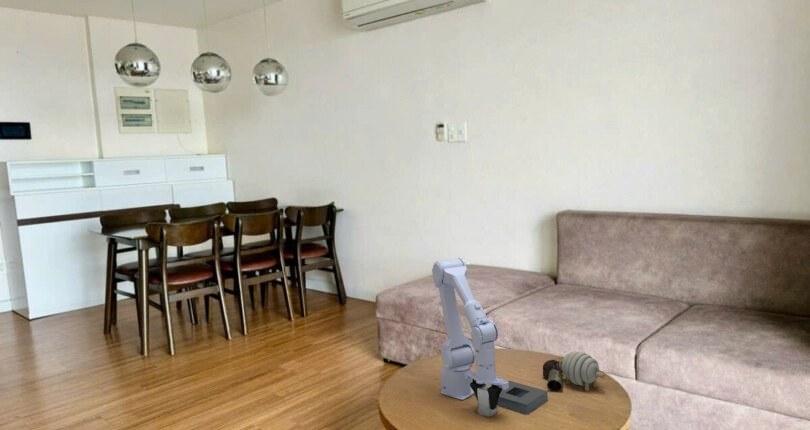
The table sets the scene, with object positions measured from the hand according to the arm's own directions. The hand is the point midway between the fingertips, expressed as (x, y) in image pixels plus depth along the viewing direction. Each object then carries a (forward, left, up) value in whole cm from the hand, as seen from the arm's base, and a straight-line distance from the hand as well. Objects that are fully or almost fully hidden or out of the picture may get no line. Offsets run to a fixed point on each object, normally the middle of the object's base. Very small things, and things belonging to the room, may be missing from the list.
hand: (487, 406), depth 169 cm
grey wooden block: (0, 0, -2) cm, 2 cm away
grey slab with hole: (+3, +12, -2) cm, 13 cm away
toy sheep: (+13, +34, -2) cm, 36 cm away
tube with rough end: (+4, +32, -2) cm, 33 cm away
